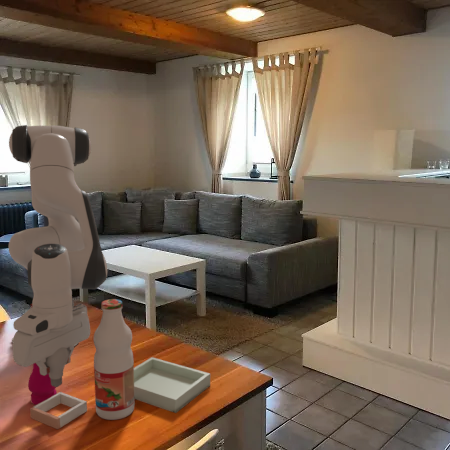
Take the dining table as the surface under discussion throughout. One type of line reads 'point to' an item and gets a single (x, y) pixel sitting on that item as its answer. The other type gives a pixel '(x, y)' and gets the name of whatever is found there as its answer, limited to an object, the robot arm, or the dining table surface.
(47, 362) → the lightbulb
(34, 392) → the pepper mill
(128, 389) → the white plastic bottle
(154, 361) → the tray
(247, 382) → the dining table surface
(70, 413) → the socket collar
